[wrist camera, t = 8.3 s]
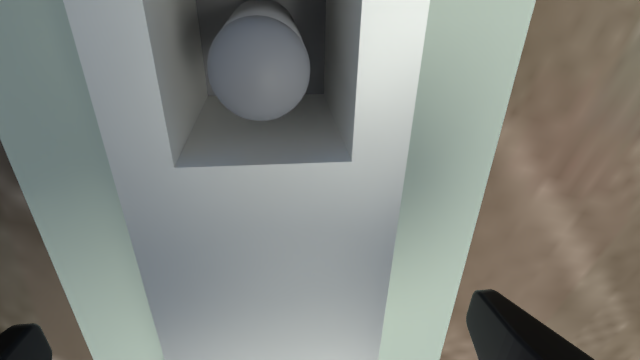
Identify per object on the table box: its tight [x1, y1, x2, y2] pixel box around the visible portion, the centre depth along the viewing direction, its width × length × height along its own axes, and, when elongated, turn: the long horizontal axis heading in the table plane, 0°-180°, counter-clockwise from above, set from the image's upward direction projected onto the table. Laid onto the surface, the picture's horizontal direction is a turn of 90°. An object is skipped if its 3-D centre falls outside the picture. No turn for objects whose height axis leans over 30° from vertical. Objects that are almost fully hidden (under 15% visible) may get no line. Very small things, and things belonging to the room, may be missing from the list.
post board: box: [0, 0, 536, 360], centre depth 10 cm, size 14×22×6 cm, turn 179°
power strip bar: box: [63, 0, 430, 360], centre depth 10 cm, size 5×16×4 cm, turn 179°
